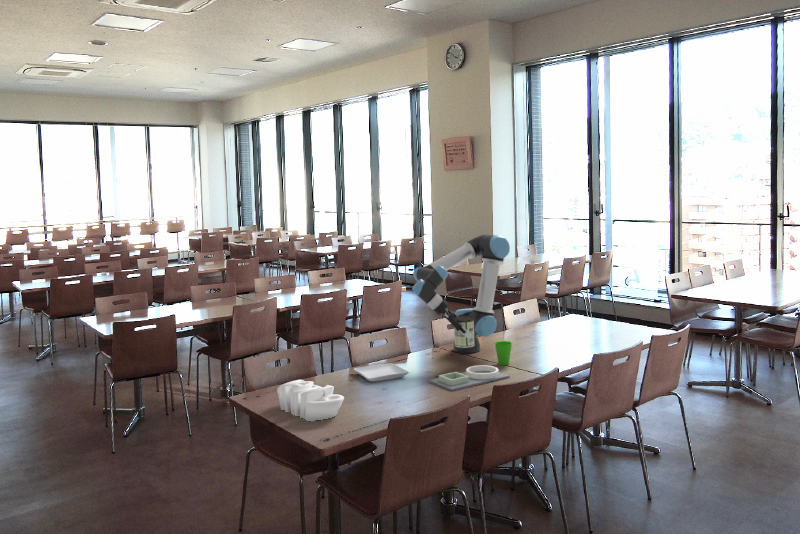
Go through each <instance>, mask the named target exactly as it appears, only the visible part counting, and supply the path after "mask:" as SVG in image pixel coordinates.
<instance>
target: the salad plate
mask: <svg viewBox="0 0 800 534" xmlns="http://www.w3.org/2000/svg"><path fill="white" fill-rule="evenodd" d="M353 371H354V372H355V373H356V374H358V375H359V376H362V377H363V378H365V379H366V381H369V382H373V383H375V381H376V382H381V381H382V382H384V381H389V379H390V380H394V379H395V378H396V379H400V378H402V377H405V376H407V375H408V374H409V373H410V372H409V371H408V370H407V369H404V368H402V367H400V366H399V365H397V364H395V363H394V362H389V363H381V364H373V365H367V366H360V367H355V368H353Z"/></svg>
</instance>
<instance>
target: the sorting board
mask: <svg viewBox="0 0 800 534" xmlns="http://www.w3.org/2000/svg"><path fill="white" fill-rule="evenodd" d="M509 378H510V375H509V374H505V373H503V372H500V370H499V368H498V367H496V366H493V365H485V364H483V365H472V366H469V367H467V368H465V371H463V372H458V371H453V372H449V373H444V374H443V373H442V374H439V375H438V377H435V378H431V379H428V383H430V384H433V385H435V386H437V387H440V388H443V389H444V390H445V389H446V390H447V391H451V392H454V391H457V390H463V389H466V388H471V386H472V387H474V386H475V385H476V386H479V384H480V385H484V384H488V383H487V382H489V383H492V382H491V381H493V382H496V380H497V381H501V380H505V379H509ZM483 383H484V384H483ZM476 386H475V387H476Z"/></svg>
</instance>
